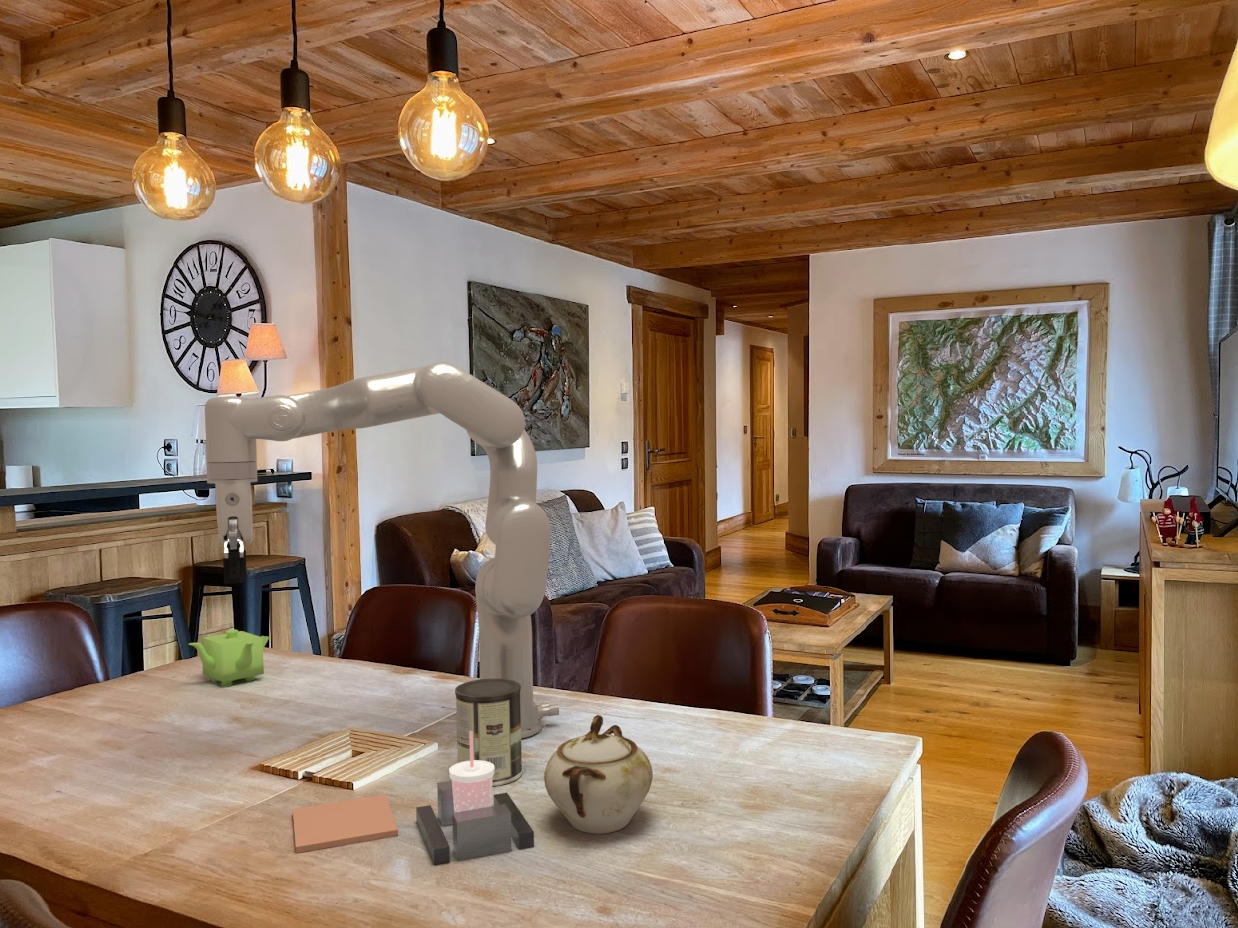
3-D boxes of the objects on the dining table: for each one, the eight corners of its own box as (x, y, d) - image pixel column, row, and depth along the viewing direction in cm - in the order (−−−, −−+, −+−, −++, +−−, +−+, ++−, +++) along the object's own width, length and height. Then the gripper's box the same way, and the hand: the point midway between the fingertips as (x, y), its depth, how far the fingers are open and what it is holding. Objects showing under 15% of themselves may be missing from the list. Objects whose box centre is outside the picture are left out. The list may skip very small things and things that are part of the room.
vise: (507, 805, 132) (506, 771, 132) (534, 846, 119) (533, 808, 119) (416, 821, 127) (415, 786, 127) (434, 865, 114) (433, 825, 114)
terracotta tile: (385, 799, 135) (385, 794, 135) (398, 835, 123) (397, 829, 123) (292, 814, 130) (292, 808, 130) (295, 852, 118) (295, 846, 118)
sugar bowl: (629, 860, 115) (627, 742, 114) (520, 845, 119) (518, 732, 119) (669, 799, 133) (667, 698, 133) (573, 788, 138) (571, 690, 137)
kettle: (254, 688, 196) (252, 636, 195) (187, 691, 195) (185, 639, 194) (276, 670, 211) (275, 622, 210) (213, 672, 210) (212, 624, 209)
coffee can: (496, 758, 151) (494, 674, 151) (535, 774, 144) (534, 686, 144) (443, 775, 144) (441, 687, 144) (482, 793, 137) (480, 700, 136)
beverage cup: (492, 843, 120) (490, 738, 119) (446, 844, 120) (443, 739, 119) (499, 823, 126) (497, 723, 125) (455, 824, 126) (452, 724, 126)
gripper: (257, 474, 141) (260, 584, 141) (257, 470, 157) (260, 569, 157) (204, 476, 138) (207, 588, 139) (209, 472, 154) (212, 572, 155)
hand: (235, 578), depth 148 cm, fingers open, 9 cm apart
